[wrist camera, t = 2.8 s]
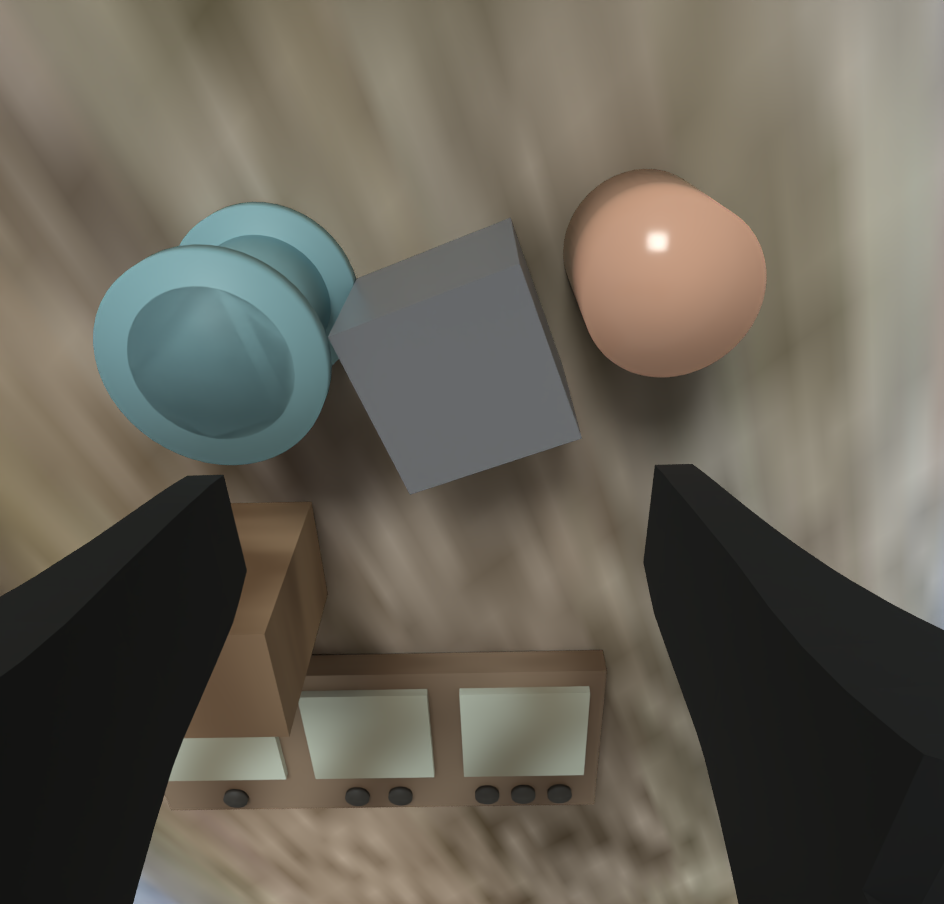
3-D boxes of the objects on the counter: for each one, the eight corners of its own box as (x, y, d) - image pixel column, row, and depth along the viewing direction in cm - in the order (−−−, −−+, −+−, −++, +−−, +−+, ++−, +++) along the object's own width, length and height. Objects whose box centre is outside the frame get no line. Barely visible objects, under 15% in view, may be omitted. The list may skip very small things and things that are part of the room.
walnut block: (216, 595, 25) (150, 738, 20) (191, 503, 23) (109, 636, 18) (327, 593, 25) (289, 736, 20) (311, 501, 23) (264, 634, 18)
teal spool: (201, 380, 21) (131, 468, 17) (157, 205, 18) (60, 256, 14) (368, 374, 21) (340, 461, 17) (347, 198, 18) (307, 247, 14)
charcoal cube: (421, 412, 22) (410, 494, 18) (357, 277, 20) (328, 336, 16) (561, 363, 21) (581, 438, 17) (510, 217, 19) (519, 263, 15)
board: (179, 788, 31) (168, 816, 30) (129, 658, 27) (114, 685, 26) (590, 782, 31) (595, 810, 29) (602, 650, 27) (608, 677, 25)
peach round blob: (560, 320, 20) (578, 379, 17) (565, 171, 18) (587, 202, 15) (701, 317, 20) (749, 375, 17) (723, 166, 18) (782, 196, 14)
